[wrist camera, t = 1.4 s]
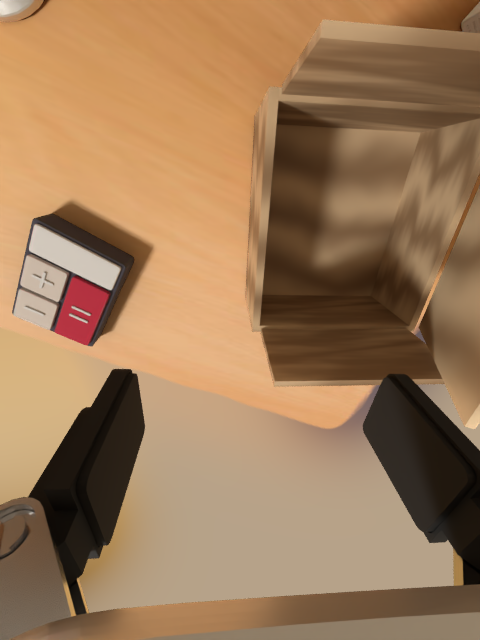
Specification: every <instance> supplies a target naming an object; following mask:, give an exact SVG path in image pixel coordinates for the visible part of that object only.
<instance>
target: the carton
mask: <svg viewBox="0 0 480 640" xmlns="http://www.w3.org/2000/svg"><path fill="white" fill-rule="evenodd" d="M479 174H480V33H471V32H459V31H448V30H437V29H425V28H414V27H403V26H391V25H380V24H369V23H358V22H346V21H335V20H324V19H323V20H322V22H321V23H320V25H319V26H318V28H317V30H316V31H315V33H314V34H313V36H312V38H311V39H310V41H309V42H308V44H307V46H306V47H305V49H304V50H303V52H302V54H301V55H300V57H299V58H298V60H297V62H296V63H295V65H294V66H293V68H292V70H291V71H290V73H289V74H288V76H287V78H286V79H285V81H284V82H283V84H282V87H269V88H268V90H267V92H266V94H265V96H264V98H263V100H262V102H261V104H260V106H259V108H258V110H257V112H256V114H255V121H254V140H253V160H252V180H251V200H250V219H249V239H248V259H247V279H246V302H247V307H248V312H249V317H250V322H251V327H252V332H261V336H262V340H263V344H264V348H265V352H266V356H267V360H268V364H269V368H270V372H271V376H272V380H273V384H274V387H286V386H347V385H381V382H382V380H383V379H384V378H385V377H386V376H387V375H388V374H406V375H408V376H409V377H410V378H411V379H412V380H413V381H414V382H415V383H416V384H445V383H444V381H443V379H442V377H441V375H440V372H439V370H438V368H437V366H436V364H435V362H434V359H433V357H432V355H431V353H430V351H429V349H428V346H427V344H425V343H424V342H423V341H421V340H420V339H419V338H418V337H416V336H415V335H414V334H413V333H412V332H413V331H414V329H415V326H416V324H417V322H418V319H419V317H420V315H421V312H422V310H423V307H424V305H425V303H426V300H427V298H428V295H429V293H430V291H431V288H432V286H433V284H434V281H435V279H436V276H437V274H438V272H439V269H440V267H441V264H442V262H443V260H444V257H445V255H446V252H447V250H448V248H449V245H450V243H451V241H452V238H453V236H454V233H455V231H456V229H457V226H458V224H459V221H460V219H461V217H462V214H463V212H464V209H465V207H466V205H467V202H468V200H469V198H470V195H471V193H472V190H473V188H474V186H475V183H476V181H477V178H478V176H479Z"/></svg>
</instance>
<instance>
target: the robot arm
mask: <svg viewBox="0 0 480 640" xmlns="http://www.w3.org/2000/svg"><path fill="white" fill-rule="evenodd" d="M43 1H44V0H0V22H13V21H19V20H21V19H24V18H26V17H28V16H30V15H31V14H32V13H34V12H35V11H36V10H37V9H38V8H39V7H40V6H41V4H42V3H43ZM144 429H145V424H144V416H143V410H142V403H141V397H140V390H139V384H138V377H137V374H133V373H132V371H131V370H130V369H114V370H112V372H111V373H110V375H109V377H108V378H107V380H106V382H105V384H104V385H103V387H102V389H101V391H100V392H99V394H98V396H97V398H96V399H95V401H94V403H93V404H92V406H91V407H86V408H84V409H83V410H82V411H81V412H80V413H79V415H78V416H77V418H76V420H75V421H74V423H73V425H72V426H71V428H70V429H69V431H68V433H67V434H66V436H65V437H64V439H63V441H62V443H61V444H60V446H59V448H58V449H57V451H56V452H55V454H54V455H53V457H52V459H51V460H50V462H49V464H48V465H47V467H46V468H45V470H44V472H43V474H42V475H41V477H40V478H39V480H38V482H37V483H36V485H35V487H34V488H33V490H32V491H31V493H30V495H29V497H23V498H18V499H13V500H11V501H8V502H6V503H4V504H2V505H0V640H480V451H479V449H477V447H476V446H475V445H474V444H473V443H472V442H471V441H470V440H469V439H468V438H467V437H466V436H465V435H464V434H463V433H462V432H461V431H460V430H459V428H458V427H457V426H456V425H455V424H454V423H453V422H452V421H451V420H450V419H449V418H448V417H447V416H446V415H445V414H444V413H443V412H442V411H441V410H440V409H439V407H437V405H436V404H435V403H434V402H433V401H432V400H431V399H430V398H429V397H428V396H427V395H426V394H425V393H424V392H423V391H422V390H421V389H420V388H419V387H418V385H417V384H416V383H415V382H414V381H413V380H412V379H411V378H410V377H409V376H408V375H406V374H388V375H387V376H386V377H385V378H384V379H383V380H382V382H381V385H380V387H379V390H378V392H377V394H376V396H375V398H374V401H373V403H372V405H371V407H370V410H369V412H368V414H367V416H366V419H365V421H364V423H363V431H364V434H365V435H366V437H367V439H368V441H369V443H370V444H371V446H372V448H373V449H374V451H375V453H376V455H377V456H378V459H379V460H380V462H381V464H382V466H383V467H384V469H385V471H386V472H387V474H388V476H389V478H390V480H391V481H392V483H393V485H394V487H395V489H396V491H397V492H398V494H399V496H400V498H401V499H402V501H403V503H404V505H405V506H406V508H407V510H408V512H409V514H410V515H411V517H412V519H413V521H414V522H415V524H416V526H417V527H418V528H419V529H420V530H421V531H422V532H424V534H425V536H426V537H427V539H428V541H429V543H438V542H446V541H447V540H449V542H450V543H451V545H452V546H453V565H454V566H453V572H454V573H453V574H454V586H443V587H425V588H407V589H391V590H374V591H358V592H342V593H326V594H310V595H294V596H279V597H264V598H249V599H235V600H222V601H205V602H192V603H178V604H167V605H157V606H145V607H134V608H122V609H113V610H107V611H100V612H93V613H89V610H88V607H87V604H86V600H85V597H84V594H83V591H82V588H81V584H80V581H79V577H80V576H81V575H82V574H83V571H84V568H85V565H86V562H87V560H88V559H91V558H99V557H100V554H101V551H102V548H103V545H108V544H109V543H110V541H111V538H112V536H113V532H114V529H115V526H116V523H117V519H118V516H119V513H120V510H121V506H122V503H123V500H124V497H125V493H126V490H127V487H128V484H129V480H130V477H131V474H132V471H133V467H134V464H135V461H136V458H137V454H138V451H139V448H140V445H141V441H142V438H143V435H144Z"/></svg>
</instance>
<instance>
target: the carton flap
mask: <svg viewBox="0 0 480 640" xmlns="http://www.w3.org/2000/svg"><path fill="white" fill-rule="evenodd" d="M419 329H420V331H421V333H422V335H423V338H424V340H425V342H426V344H427V346H428V349H429V351H430V353H431V355H432V357H433V359H434V362H435V364H436V366H437V368H438V370H439V372H440V375H441V377H442V379H443V381H444V383H445V385H446V388H447V390H448V392H449V394H450V396H451V398H452V400H453V403H454V405H455V407H456V409H457V411H458V413H459V416H460V418H461V420H462V422H463V424H464V426H465V427H468V428H472V429H476V427H477V426H478V424H479V423H480V185H479V188H478V190H477V192H476V195H475V197H474V199H473V202H472V204H471V206H470V209H469V211H468V213H467V216H466V218H465V220H464V223H463V225H462V227H461V230H460V232H459V234H458V237H457V239H456V241H455V244H454V246H453V248H452V251H451V253H450V256H449V258H448V260H447V263H446V265H445V267H444V270H443V272H442V274H441V277H440V279H439V281H438V284H437V286H436V288H435V291H434V293H433V295H432V298H431V300H430V302H429V305H428V307H427V309H426V312H425V314H424V316H423V319H422V321H421V323H420V326H419Z"/></svg>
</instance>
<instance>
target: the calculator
mask: <svg viewBox="0 0 480 640" xmlns="http://www.w3.org/2000/svg"><path fill="white" fill-rule="evenodd" d="M133 262H134V258H133V257H132V256H131V255H129V254H127V253H125V252H123V251H121V250H119V249H118V248H116V247H114V246H112V245H110V244H108V243H106V242H105V241H103V240H101V239H99V238H97V237H95V236H93V235H92V234H90V233H88V232H86V231H84V230H82V229H80V228H79V227H77V226H75V225H73V224H71V223H69V222H67V221H66V220H64V219H62V218H60V217H58V216H56V215H54V214H49V215H45V216H41V217H38V218H34V219H33V221H32V225H31V229H30V234H29V238H28V243H27V247H26V252H25V256H24V261H23V265H22V270H21V275H20V279H19V284H18V288H17V293H16V297H15V302H14V306H13V311H12V313H13V315H14V316H16V317H18V318H20V319H23V320H25V321H28V322H30V323H33V324H35V325H38V326H40V327H42V328H45V329H48V330H51V331H53V332H55V333H57V334H59V335H62V336H64V337H67V338H69V339H72V340H74V341H76V342H79V343H81V344H84V345H88V346H93V345H94V343H95V342H96V341H97V340H98V338H99V337H100V335H101V333H102V331H103V329H104V327H105V324H106V322H107V320H108V318H109V315H110V313H111V311H112V309H113V306H114V304H115V302H116V299H117V297H118V295H119V293H120V290H121V288H122V286H123V284H124V282H125V280H126V278H127V276H128V274H129V271H130V269H131V267H132V265H133Z"/></svg>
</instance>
